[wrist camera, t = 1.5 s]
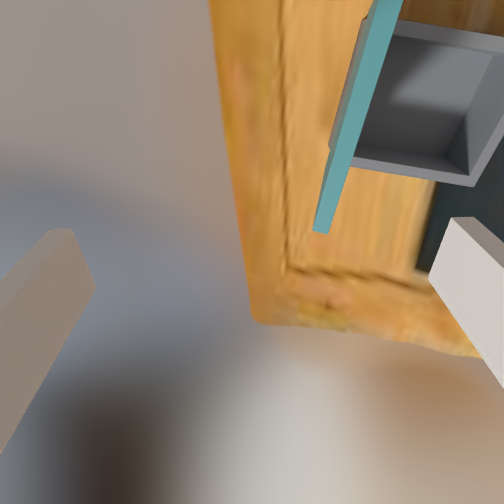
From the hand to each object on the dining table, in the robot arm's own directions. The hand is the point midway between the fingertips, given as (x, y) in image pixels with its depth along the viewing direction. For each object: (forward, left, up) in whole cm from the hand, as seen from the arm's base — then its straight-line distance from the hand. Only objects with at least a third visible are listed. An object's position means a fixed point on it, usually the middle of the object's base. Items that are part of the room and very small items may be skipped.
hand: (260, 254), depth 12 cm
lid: (-6, -3, -15) cm, 16 cm away
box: (-14, -3, -29) cm, 32 cm away
